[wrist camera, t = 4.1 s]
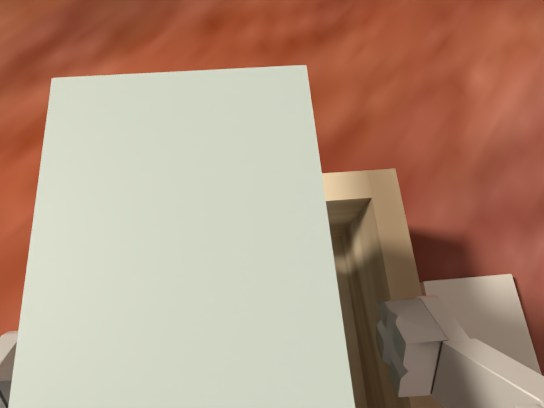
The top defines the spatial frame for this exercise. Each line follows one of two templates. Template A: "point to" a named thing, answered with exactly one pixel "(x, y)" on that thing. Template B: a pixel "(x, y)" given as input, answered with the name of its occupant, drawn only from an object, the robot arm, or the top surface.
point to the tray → (370, 274)
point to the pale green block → (181, 248)
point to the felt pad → (488, 313)
